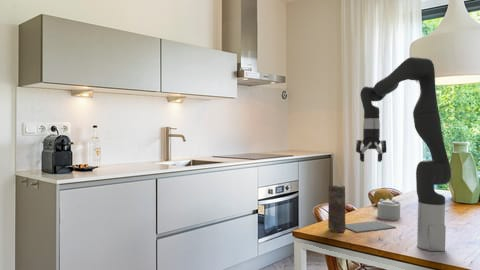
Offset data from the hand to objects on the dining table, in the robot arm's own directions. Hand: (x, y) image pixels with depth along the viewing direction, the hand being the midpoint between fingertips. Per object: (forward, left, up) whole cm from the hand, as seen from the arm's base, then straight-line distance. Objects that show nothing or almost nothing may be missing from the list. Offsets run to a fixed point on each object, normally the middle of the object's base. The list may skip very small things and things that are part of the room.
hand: (371, 161), depth 184 cm
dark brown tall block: (-16, +21, -29) cm, 40 cm away
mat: (-10, +5, -29) cm, 31 cm away
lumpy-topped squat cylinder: (+10, -14, -29) cm, 34 cm away
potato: (+37, -22, -29) cm, 52 cm away
